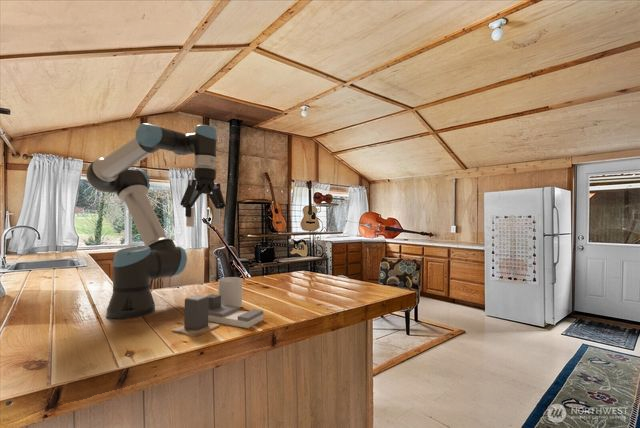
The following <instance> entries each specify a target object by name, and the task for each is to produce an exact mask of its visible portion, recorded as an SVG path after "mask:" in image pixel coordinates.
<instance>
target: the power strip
mask: <svg viewBox="0 0 640 428" xmlns="http://www.w3.org/2000/svg"><path fill="white" fill-rule="evenodd" d="M207 296H208V297H209V311H208V322H210V323H215V324H221V325H228V326H234V327H239V328H245V329H249V328H250V327H252V325H253V326H255V325H257V324H258V323H260V322H263V320H264V310H262V309H255V308H253V309H251V310H248V311H246V310H241V309H240V308H239V307H236V306H230V305H223V304H221V295H218V294H214V293H211V294H209V295H207Z"/></svg>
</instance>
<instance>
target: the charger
mask: <svg viewBox="0 0 640 428" xmlns="http://www.w3.org/2000/svg"><path fill="white" fill-rule="evenodd" d="M208 311H209V297H208V295H200V294H195V295H191V296H188V297H185V299H184V310H183V312H184V314H183V315H184V316H183V317H184V318H183V320H184V321H183V325H184V328H185V329H190V330H195V331H197V330H200V329H202V328H204V327H207V326H208V322H209V321H208Z"/></svg>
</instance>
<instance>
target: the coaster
mask: <svg viewBox="0 0 640 428" xmlns="http://www.w3.org/2000/svg"><path fill="white" fill-rule="evenodd" d="M220 326H221V323H215V322H210V321H208V326H207V327H204V328H202V329H200V330H197V331H195V330H190V329H185V328H184V324H183V325H180V326H177V327H175V328H172V329H171V333H174V334H175V333H176V334H182V335H186V336H189V337H190V336H191V337H196V338H197V337H200V336H201V335H204V334H207V333H209V332H210V331H213V330H215V329H217V328H219V327H220Z"/></svg>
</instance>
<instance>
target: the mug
mask: <svg viewBox="0 0 640 428" xmlns="http://www.w3.org/2000/svg"><path fill="white" fill-rule="evenodd" d="M217 283H218V285H217V287H218V291H217V295H221V304H223V305H230V306H236V307H239V309H240V308H241V307H242V305H243V278H241V277H237V276H231V277H230V276H229V277H228V276H227V277H221V278H219V279H218V282H217Z"/></svg>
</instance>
